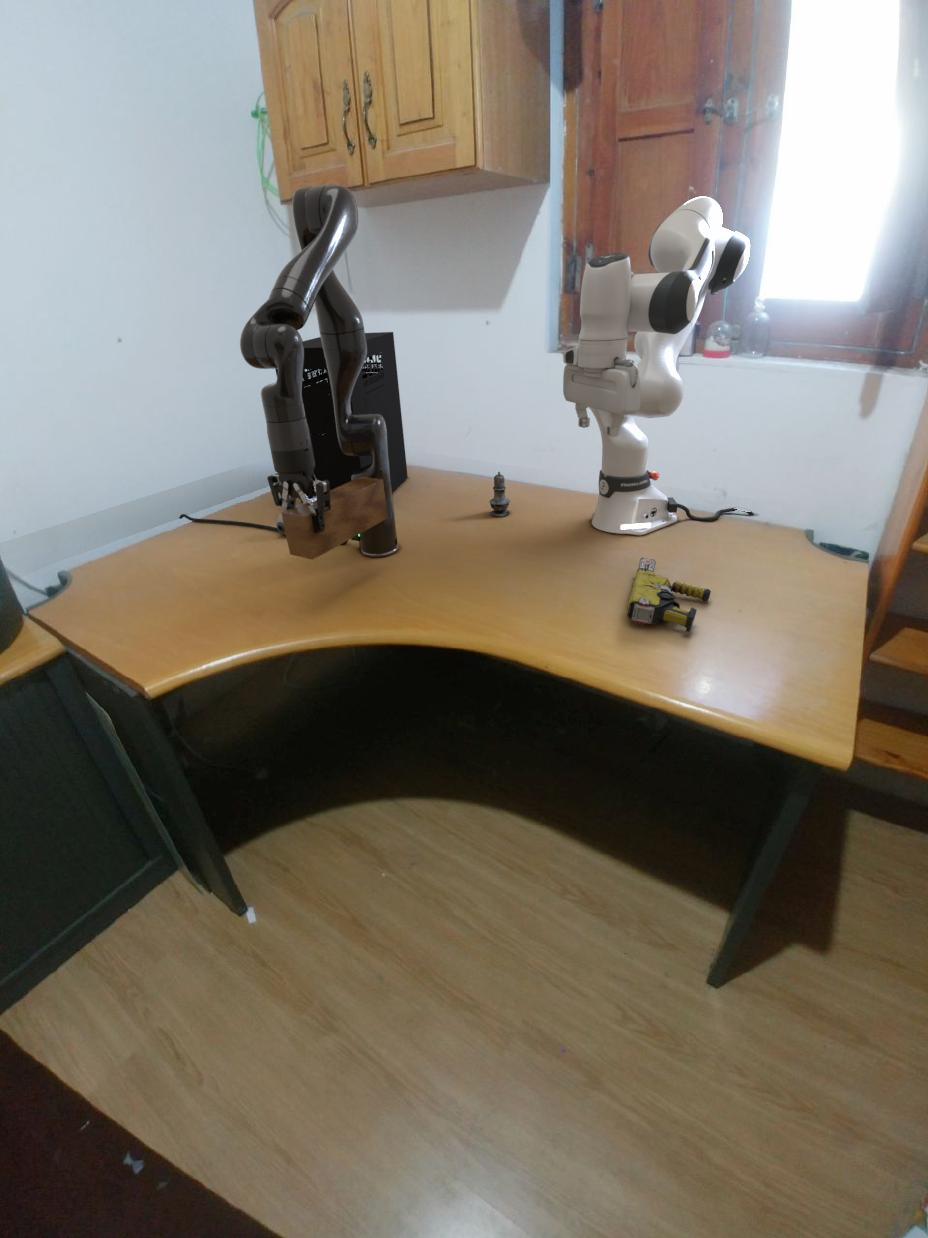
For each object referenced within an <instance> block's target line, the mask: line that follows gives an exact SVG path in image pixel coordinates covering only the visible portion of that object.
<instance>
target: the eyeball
mask: <svg viewBox="0 0 928 1238" xmlns="http://www.w3.org/2000/svg"><path fill="white" fill-rule="evenodd" d="M275 527H276V528H277V529H278V530H279V531H278V532H280V533H281V534H282V535H286V532H285V528H284V523H283V518H282V513H280V514H279V515H278V516H277V517H276V520H275Z"/></svg>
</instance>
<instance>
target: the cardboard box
mask: <svg viewBox="0 0 928 1238" xmlns="http://www.w3.org/2000/svg"><path fill="white" fill-rule="evenodd" d="M365 337H366V344H367V355H366V359H365V362H364V364H363V367H362V369H361V371H360V373H359V376H358V378H357V380H356V383H355V385H354V388H353V392H352V395H351V412H352V414H380V415H381V416H382V417H383V418H384V421H385V424H386V430H387V445H388V459H389V470H390V481H391V490H392V494H393V493H394V492H395V491H396V490H397V489H398V488H399V487H400V486H401V485H402V484H403V483H404V482H405V481H406V480H407V479H408V478H409V476H408V466H407V465H408V464H407V456H406V455H407V454H406V447H405V437H404V436H405V435H404V427H403V425H404V424H403V416H402V415H403V414H402V407H401V397H400V386H399V375H398V367H397V357H396V345H395V335H394V331H383V332H381V331H380V332H365ZM302 341H303V344H304V366H303V379H302V399H303V404H304V410H305V417H306V420H307V424H308V427H309V431H310V436H311V442H312V448H313V454H314V460H315V467H314V470H313V472H314V475H315V477H316V479H317V480H320V481H324V480H328V481H329V485H330V490H332V489H335V488H337V487H339V486H341V485H344V484H346V483H348V482H350V481H351V474H352V473H353V472H354V471H356V470H357V469H360V468H362V467H365V466H367V465H369V464H370V463H371V462H372V461H373V457H372V456H347V455H345V454H344V453H343V452H342V450H341V448H340V445H339V442H338V437H337V430H336V422H335V414H334V406H333V398H332V391H331V385H330V380H329V375H328V370H327V365H326V361H325V356H324V352H323V347H322V342H321V337H320V336H319V337H315V338H311V339H306V340H302ZM378 361H379V362H378ZM274 370H275V374H276V377H277V376H278V369H274ZM308 498H309V499H311V498H313V495H311V496H310V497H308ZM301 503H303V501H302V499H300V504H301Z"/></svg>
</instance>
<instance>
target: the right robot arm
mask: <svg viewBox="0 0 928 1238" xmlns="http://www.w3.org/2000/svg"><path fill="white" fill-rule="evenodd" d="M722 225H723V212H722V208H721V207H720V204H719V203H718V202H717V201H716V200H715V199H713V198H712V197H708V196H698V197H694V198H692V199H690V200H688V201H686V202H685V203H683V204H681V205H680V206H679V207H677V208H675V210H674V211H672V213H670V214H669V216H667V217H666V219H664V220H663V221H662V222H660V223H659V224H658V226H657V227H656V229H655V231H654V233H653V234H652V237H651V240H650V242H649V246H648V247H649V248H648V254H647V255H648V256H647V257H648V260H649V263H650V265H651V267H653V268H654V269H655V270H656V271H657V272H653V273H652V272H650V273H635V272H634V271H632V268H631V267H632V266H631V258H630V256H629V254H626V253H623V252H622V253H621V252H612V253H607V254H600V255H598V256H595V257H592V258H591V259H589V260H588V261H587V263H586V264H585V267H584V271H583V275H582V282H581V289H580V290H581V291H580V303H579V316H580V321H581V325H580V326H581V327H580V332H579V335H578V345H575V346H573V347H572V348H570V349H567V350H566V351H565V350H564V352H563V355H562V360H563V361H562V362H563V363H564V364H565V366H564V368H563V376H562V389H563V390H562V393H563V397H564V399H565V401H566V402H568V403H573V404H574V405H575V412H576V415H577V418H578V421H577V423H578V424H577V425H578V427H580V428H583V429H585V428H589V427H590V424H591V423H590V422H591V418H590V417H588V411H587V409H588V408H589V410H590V411H591V413H592V414H593V416H594V418H595V420H596V422H597V425H598V428H599V432H600V436H601V437H600V438H601V468H600V470H599V474H598V492H599V493H598V498H597V502H596V507H595V511H594V514H593V517H592V520H591V525H592V526H593V527H594V528H595V529H597V530H599V531H601V532H605V533H611V534H623V535H625V534H626V535H632V536H633V535H634V536H645V535H646V534H650V533H652V532H654V531H657V530H660V529H662V528H665V527H668V526H670V525H672V524H675V523H677V522H678V516H677V515H676V514H677V513H678V509H681V510H683V511H684V512H685V515H686V516H687V518H689V519H690V520H692V521H698V522H699V521H700V522H709V521H711V522H712V521H715V520H717V519H719V517H720V515H722V514H726V513H731V512H736V511H735V510H737V509H734V508H735V507H729V508H724V509H723V508H722V509H720V510H718V511H716V512H715V515H714V516H713V515H712V516H705V517H704V516H702V517H700V516H695V515H693V514H691V512H690V509H689V508H688V507H686V506H685V505H683V504H681V503H678V502H677V501H676V499H675V498H674V497H671V496H669V497H667V496H666V495H665V494H664V493H663V492H661V491H660V490H659V489H658V488H656V487H655V486H654V485H652V483H651V480H653V481H658V479H659V478H660V473H659V472H657V471H654V470H651V471H649V470H648V469H647V466H648V458H649V457H648V455H649V446H650V443H649V439H648V437H647V435H646V434H645V433H644V432H643V431H642V430H641V429H640V428H639V427H638V425H637V424H636V421H635V418H634V417H638V418H645V419H657V418H664V417H666V418H667V417H670V416H671V415H673V414H674V413H675V412H676V411H677V410H678V409H679V408H680V405H681V403H682V401H683V398H684V395H685V394H684V393H685V387H684V381H683V379H682V377H681V376H680V374H679V373H678V371H677V368H676V367H677V366H676V365H677V361H678V360H677V359H678V357H679V354H680V353H681V351H682V349H683V347H684V344H685V343H686V341H687V339H688V337H689V336H690V334H691V332H692V331H693V328H694V327H695V325H696V323H697V321H698V318H699V316H700V313H701V311H702V309H703V305H704V302H705V300H706V299H705V298H706V296H707V293H708V292H709V291H710V292H709V293H710V296H715V295H717V294H718V292H719V291H722V290H725V289H727V288H729V287H730V286H731V285H733V284H734V283H735V282H736V281H737V280H738V278H739V277H740V276H741V275H742V273H743V272H744V271H745V269H746V267H747V264H748V261H749V257H750V250H751V243H750V239H749V238H748V237H747V236H745V235H744V234H742V233H741V232H739V231H735V232H734V231H731V230H729V229H727V228H724V227H722ZM628 332H633V333H634V332H635V333H636V334H635V336H634V339H633V344H634V345H633V346H634V350H635V353H636V355H637V357H639V359H640V361H639V362H638V363H635V361H634V360H633V359H627V355H628V353H627V352H628V340H629V333H628ZM750 511H751V510H750ZM742 512H743V513H746V514H748V515H749V516H751V517H753V516H755V513H754V512H753V511H751V512H745V511H742ZM675 513H676V514H675Z"/></svg>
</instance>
